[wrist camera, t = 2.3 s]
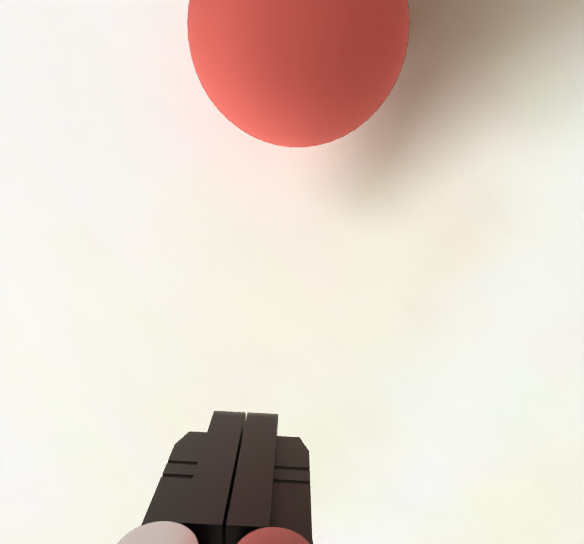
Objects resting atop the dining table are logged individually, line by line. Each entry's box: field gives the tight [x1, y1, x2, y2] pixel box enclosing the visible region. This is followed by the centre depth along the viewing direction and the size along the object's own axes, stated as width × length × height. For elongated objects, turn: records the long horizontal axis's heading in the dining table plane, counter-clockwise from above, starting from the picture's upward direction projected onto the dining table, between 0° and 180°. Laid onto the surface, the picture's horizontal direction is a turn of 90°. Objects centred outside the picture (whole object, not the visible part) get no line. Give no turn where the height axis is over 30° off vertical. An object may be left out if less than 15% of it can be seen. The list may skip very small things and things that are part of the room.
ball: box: [187, 0, 409, 147], centre depth 14 cm, size 6×6×6 cm
